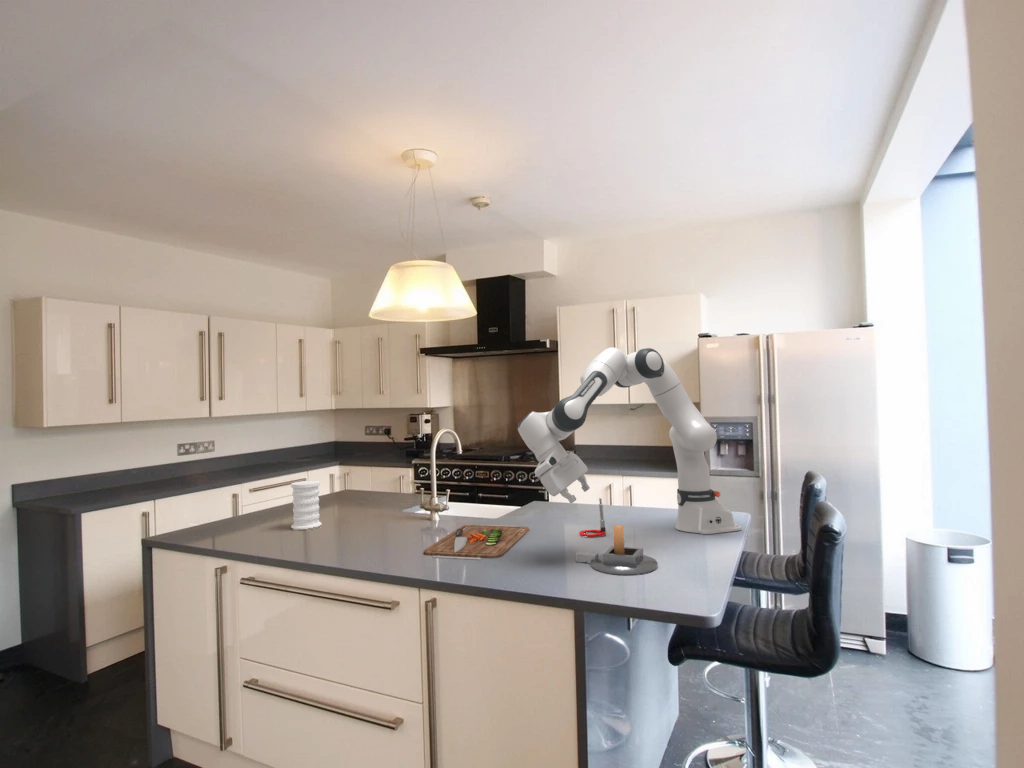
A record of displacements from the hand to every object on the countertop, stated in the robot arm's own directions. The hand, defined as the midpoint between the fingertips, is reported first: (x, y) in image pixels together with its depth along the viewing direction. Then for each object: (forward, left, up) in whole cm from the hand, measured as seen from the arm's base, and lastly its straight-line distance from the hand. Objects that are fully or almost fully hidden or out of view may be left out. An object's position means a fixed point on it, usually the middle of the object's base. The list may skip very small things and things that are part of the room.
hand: (580, 495), depth 178 cm
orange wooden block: (-9, +11, -18) cm, 22 cm away
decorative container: (+98, -65, -19) cm, 119 cm away
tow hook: (-9, -27, -19) cm, 34 cm away
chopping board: (+30, -27, -19) cm, 45 cm away
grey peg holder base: (-8, +10, -19) cm, 22 cm away
